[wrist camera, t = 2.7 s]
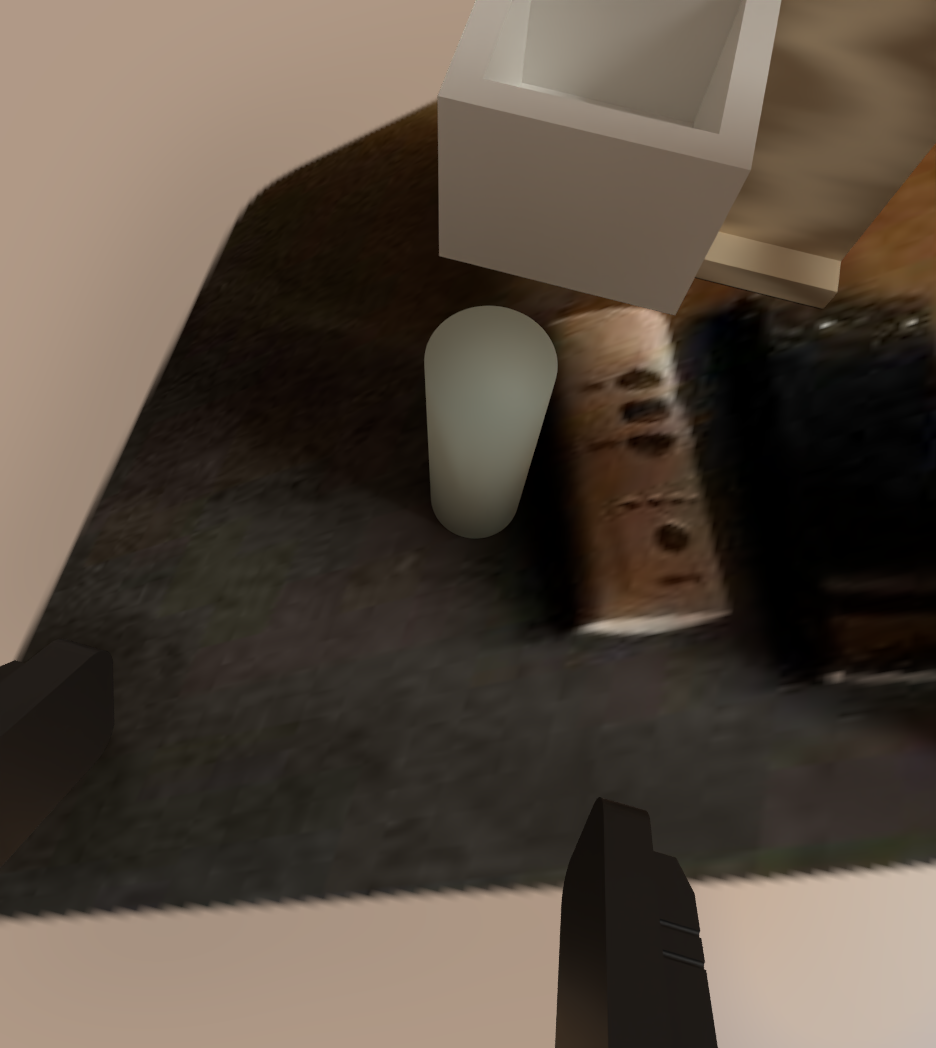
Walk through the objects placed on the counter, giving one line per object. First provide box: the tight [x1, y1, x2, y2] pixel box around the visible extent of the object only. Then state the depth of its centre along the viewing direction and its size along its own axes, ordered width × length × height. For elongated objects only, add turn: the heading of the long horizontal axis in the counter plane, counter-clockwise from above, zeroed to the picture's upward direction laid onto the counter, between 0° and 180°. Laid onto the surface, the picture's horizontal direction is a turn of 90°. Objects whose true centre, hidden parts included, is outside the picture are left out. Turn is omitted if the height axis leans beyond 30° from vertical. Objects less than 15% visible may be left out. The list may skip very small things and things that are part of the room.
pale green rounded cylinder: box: [424, 306, 558, 539], centre depth 23 cm, size 4×4×10 cm
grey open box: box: [438, 0, 781, 315], centre depth 23 cm, size 9×9×6 cm
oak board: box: [695, 0, 936, 309], centre depth 24 cm, size 16×4×18 cm, turn 74°
